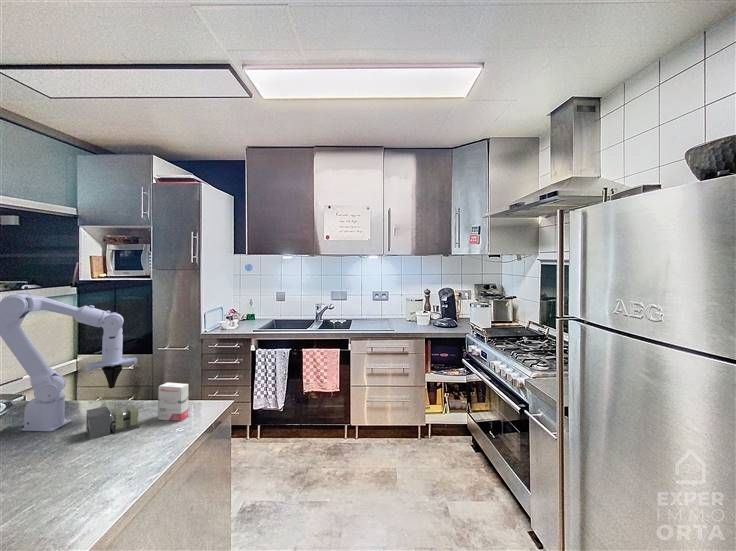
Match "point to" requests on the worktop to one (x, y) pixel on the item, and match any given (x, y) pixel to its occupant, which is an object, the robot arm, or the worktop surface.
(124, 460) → the worktop surface
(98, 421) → the grey housing block
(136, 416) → the shaft rig
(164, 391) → the ink box
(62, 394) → the robot arm
